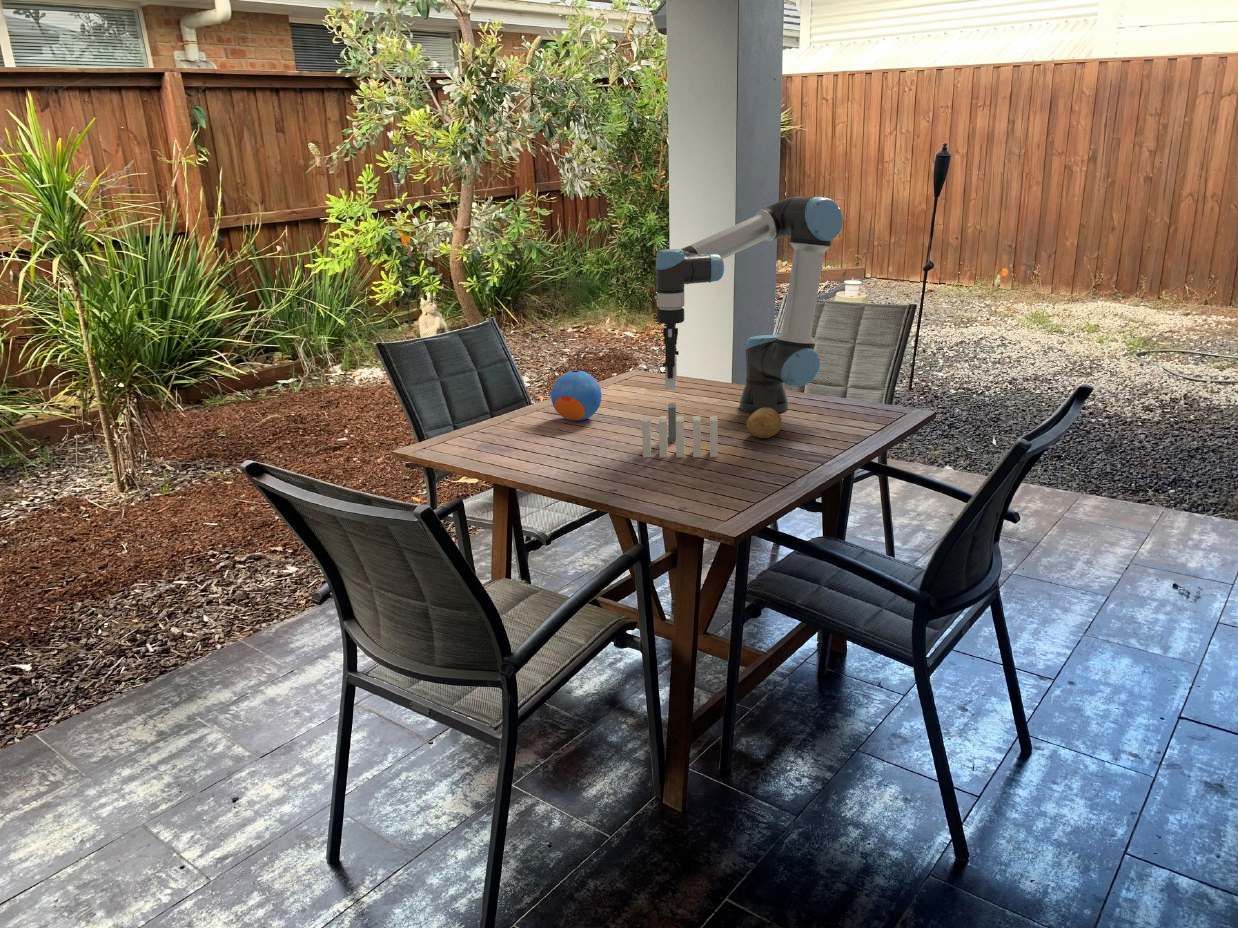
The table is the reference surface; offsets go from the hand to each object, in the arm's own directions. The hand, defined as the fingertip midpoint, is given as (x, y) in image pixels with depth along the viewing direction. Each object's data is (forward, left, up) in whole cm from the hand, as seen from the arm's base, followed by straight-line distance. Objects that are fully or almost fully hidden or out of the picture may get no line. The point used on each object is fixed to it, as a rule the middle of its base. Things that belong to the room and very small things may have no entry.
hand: (671, 383), depth 255 cm
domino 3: (0, 0, -16) cm, 16 cm away
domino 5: (-7, +14, -16) cm, 23 cm away
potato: (-26, -2, -16) cm, 31 cm away
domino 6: (-12, +14, -16) cm, 24 cm away
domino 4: (-3, +14, -16) cm, 22 cm away
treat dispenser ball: (+30, -21, -16) cm, 40 cm away
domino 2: (+2, +14, -16) cm, 21 cm away
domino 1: (+6, +14, -16) cm, 22 cm away
